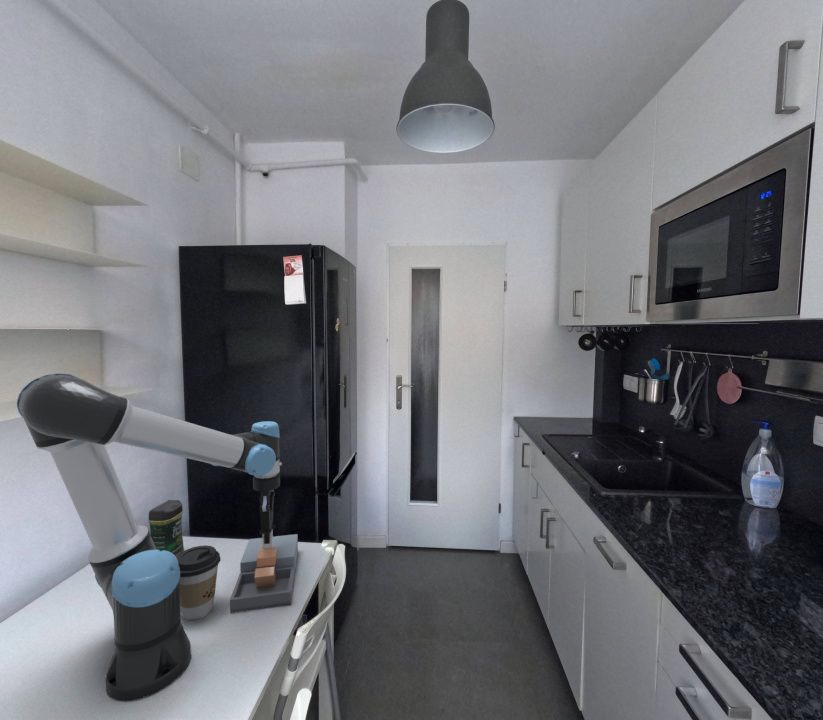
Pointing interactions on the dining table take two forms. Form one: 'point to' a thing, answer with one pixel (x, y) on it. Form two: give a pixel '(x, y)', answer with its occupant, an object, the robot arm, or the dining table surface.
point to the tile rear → (267, 557)
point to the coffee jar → (167, 526)
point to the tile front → (265, 576)
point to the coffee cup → (197, 580)
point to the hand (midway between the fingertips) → (267, 552)
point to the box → (262, 591)
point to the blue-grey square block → (285, 553)
